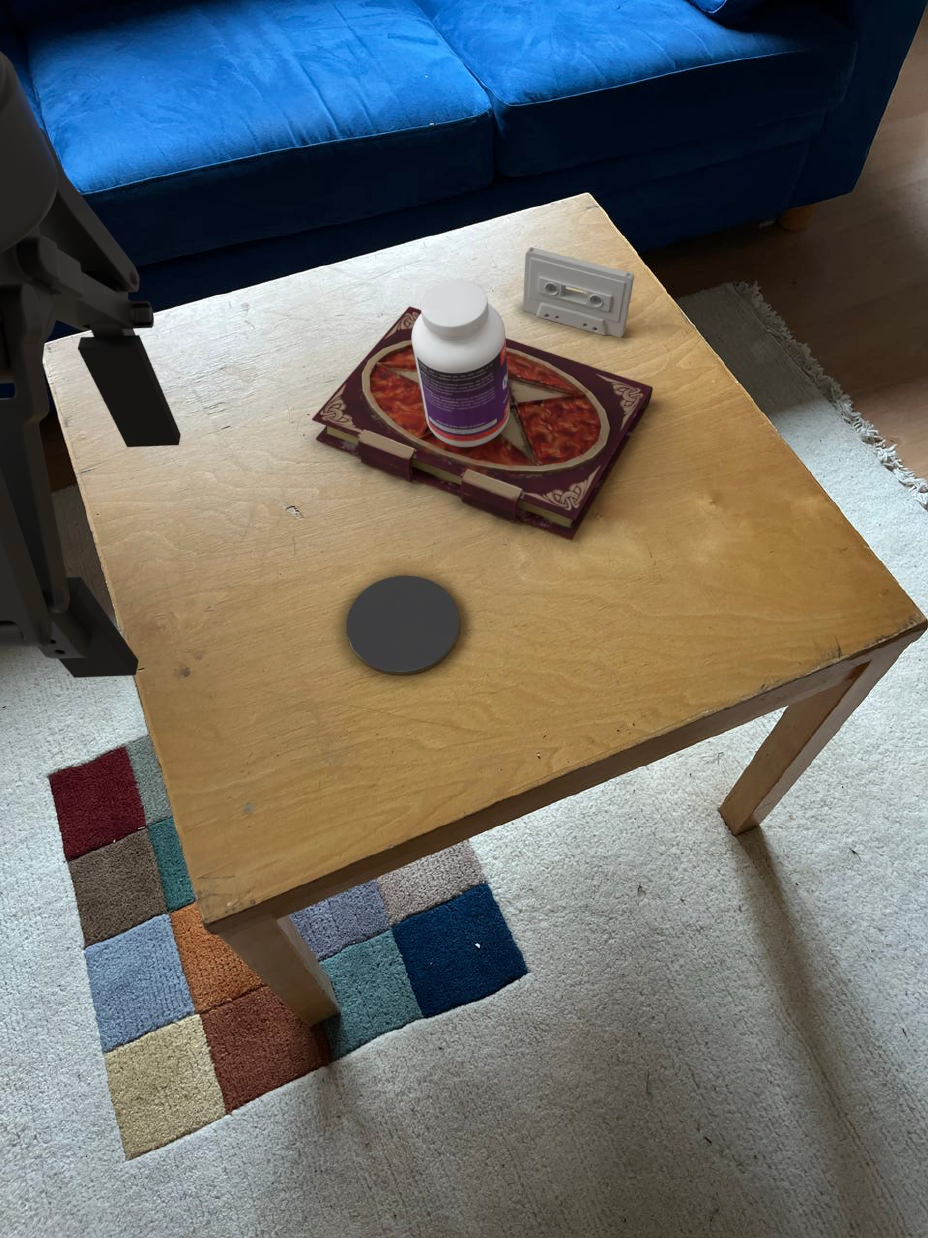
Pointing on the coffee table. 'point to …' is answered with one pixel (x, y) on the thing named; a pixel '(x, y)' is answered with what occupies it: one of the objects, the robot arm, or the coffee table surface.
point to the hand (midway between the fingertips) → (132, 545)
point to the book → (518, 456)
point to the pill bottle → (461, 363)
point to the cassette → (585, 311)
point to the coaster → (402, 625)
